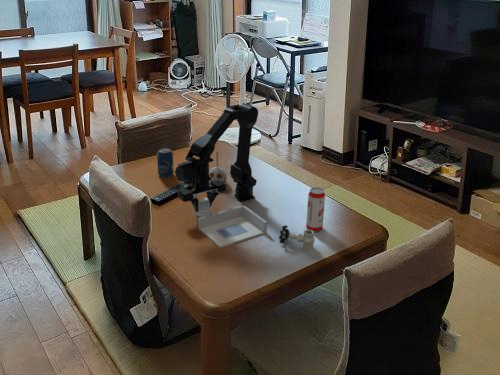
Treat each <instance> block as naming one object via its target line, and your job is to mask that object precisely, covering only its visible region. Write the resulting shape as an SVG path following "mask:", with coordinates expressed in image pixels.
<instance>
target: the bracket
mask: <svg viewBox="0 0 500 375" xmlns="http://www.w3.org/2000/svg"><path fill="white" fill-rule="evenodd" d="M213 213H214V212H213V211H212V210H211V207H210V200H209V199H208V198H207V197H203V198H200V199H199V198H198V212H195V215H196V216H197V218H199V217H203V216H206V215H210V214H213Z"/></svg>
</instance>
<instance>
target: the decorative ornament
mask: <svg viewBox="0 0 500 375" xmlns="http://www.w3.org/2000/svg"><path fill="white" fill-rule="evenodd" d="M215 154H216V157H215V158H216V161H215V162H216V166H215V167H214V166H213V167H212V168H211V169H209V177H211V180H209V185H210V183H211V182H213V181H217V180H219V181H221V182H222V183H224V184H225V185H226V186H227V179H228V177H227V176H228V174H227V172H226V169H224V168H222V166H219V152H218V151H216V153H215Z"/></svg>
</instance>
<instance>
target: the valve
mask: <svg viewBox="0 0 500 375" xmlns="http://www.w3.org/2000/svg"><path fill="white" fill-rule="evenodd" d="M288 228H289V227H288V225H286V224H285V225H282V227H281V230H280V232H279V234H280V235H279V237H278V239H279V243H280V244H284V243H285V242H286V241H288V239H289V238H290V239H292V240H297V243H302V248H303V250H305V251H308V252H309V251H312V250H313V249H314V244H315V232H314V231H312V230H308V229H305V230H304V231H303V234H302V233H299V234H295V233H290V229H288Z"/></svg>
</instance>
